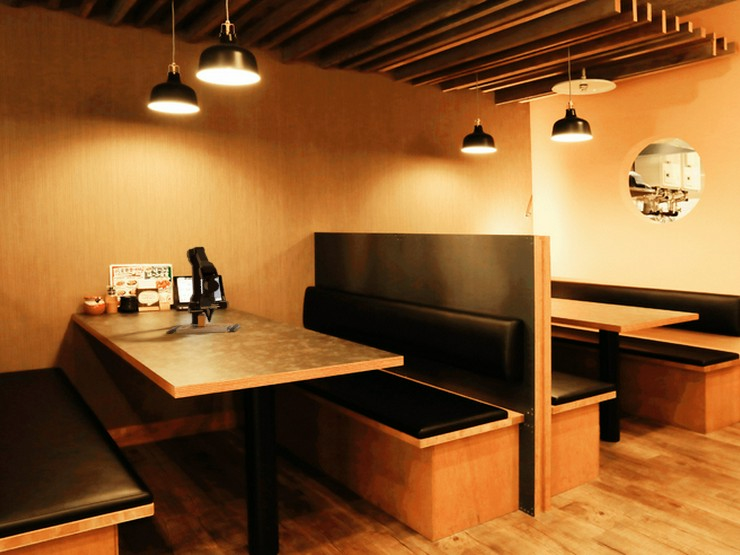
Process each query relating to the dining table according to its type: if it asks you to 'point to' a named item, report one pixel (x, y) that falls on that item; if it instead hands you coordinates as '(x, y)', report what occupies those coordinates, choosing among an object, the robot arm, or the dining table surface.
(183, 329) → the faceplate
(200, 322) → the block
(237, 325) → the cord
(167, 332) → the cord
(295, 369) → the dining table surface
